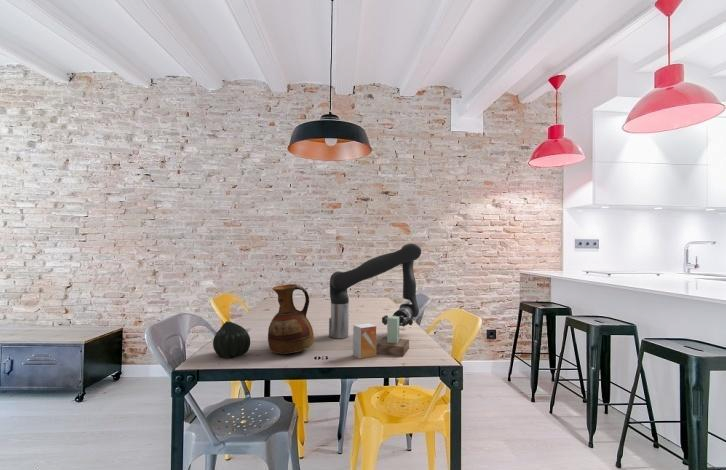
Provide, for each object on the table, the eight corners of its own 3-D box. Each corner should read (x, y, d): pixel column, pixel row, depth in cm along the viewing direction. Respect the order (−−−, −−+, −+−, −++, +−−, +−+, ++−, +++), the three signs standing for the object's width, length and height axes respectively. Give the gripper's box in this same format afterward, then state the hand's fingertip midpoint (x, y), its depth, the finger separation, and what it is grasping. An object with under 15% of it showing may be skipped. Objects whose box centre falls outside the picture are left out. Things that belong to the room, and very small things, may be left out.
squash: (254, 345, 153) (248, 314, 161) (216, 352, 145) (212, 319, 154) (249, 361, 162) (244, 330, 171) (213, 368, 155) (209, 336, 163)
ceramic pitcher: (264, 347, 169) (265, 282, 170) (307, 342, 177) (308, 280, 178) (271, 360, 151) (272, 287, 152) (319, 354, 159) (319, 285, 160)
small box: (360, 359, 153) (360, 328, 154) (352, 355, 159) (352, 325, 159) (376, 356, 158) (376, 325, 158) (368, 352, 163) (368, 322, 163)
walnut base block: (376, 353, 162) (376, 344, 162) (384, 345, 173) (384, 337, 173) (403, 356, 158) (403, 346, 158) (409, 348, 169) (409, 339, 169)
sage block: (387, 342, 164) (387, 318, 164) (389, 340, 168) (389, 316, 169) (397, 343, 163) (397, 318, 163) (399, 340, 167) (399, 316, 167)
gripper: (388, 307, 184) (379, 314, 169) (416, 309, 180) (409, 316, 164) (388, 322, 184) (378, 330, 169) (416, 325, 180) (409, 333, 164)
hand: (394, 323), depth 167 cm, fingers open, 8 cm apart
